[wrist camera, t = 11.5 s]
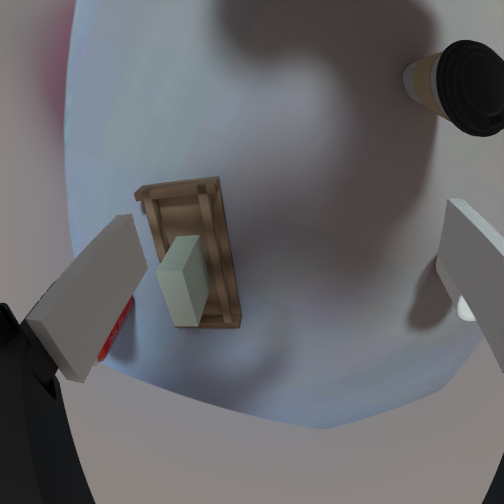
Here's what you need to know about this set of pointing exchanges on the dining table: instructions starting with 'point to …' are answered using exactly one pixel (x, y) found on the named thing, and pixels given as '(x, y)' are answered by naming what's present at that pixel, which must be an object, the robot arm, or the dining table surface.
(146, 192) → the wooden tray
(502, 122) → the coffee cup
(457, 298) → the mug
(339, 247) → the dining table surface
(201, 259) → the pale green block
